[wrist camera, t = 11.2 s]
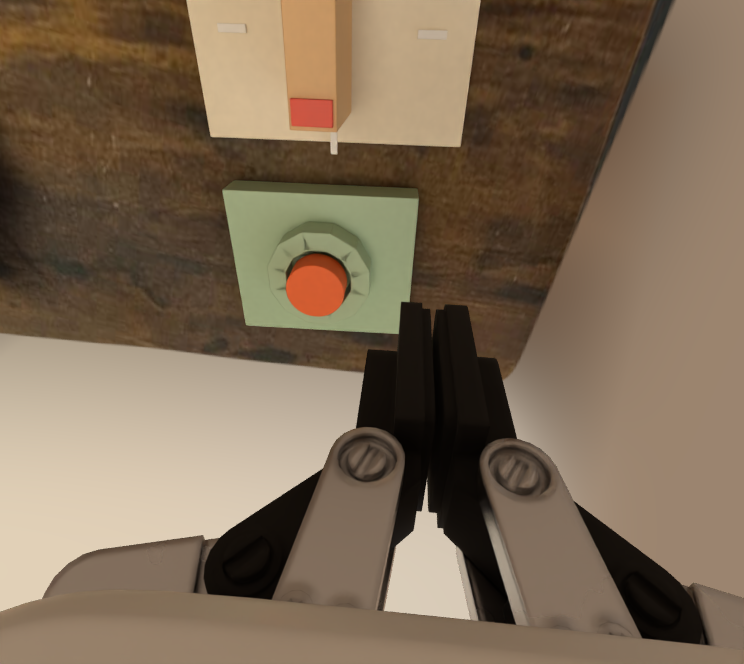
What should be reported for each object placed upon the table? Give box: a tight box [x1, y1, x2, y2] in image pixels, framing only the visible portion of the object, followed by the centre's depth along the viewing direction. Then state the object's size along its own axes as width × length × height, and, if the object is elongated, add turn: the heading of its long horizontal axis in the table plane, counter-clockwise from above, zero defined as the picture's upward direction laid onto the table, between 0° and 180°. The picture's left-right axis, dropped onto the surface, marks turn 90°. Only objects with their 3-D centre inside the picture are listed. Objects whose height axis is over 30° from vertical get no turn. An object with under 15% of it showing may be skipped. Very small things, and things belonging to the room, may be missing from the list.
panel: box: [186, 0, 481, 154], centre depth 21 cm, size 14×11×3 cm
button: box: [286, 254, 347, 317], centre depth 26 cm, size 4×4×2 cm
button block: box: [222, 180, 419, 334], centre depth 28 cm, size 12×10×4 cm
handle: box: [281, 0, 352, 132], centre depth 18 cm, size 7×2×6 cm, turn 178°
